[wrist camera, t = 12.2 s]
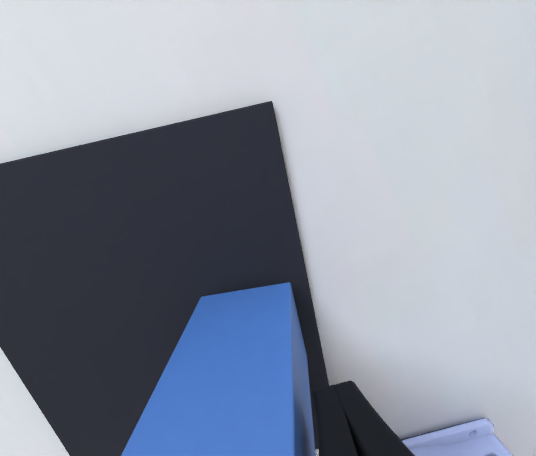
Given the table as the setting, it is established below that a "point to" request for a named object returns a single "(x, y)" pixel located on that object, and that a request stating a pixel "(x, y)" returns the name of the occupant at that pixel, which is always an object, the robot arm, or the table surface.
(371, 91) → the table surface
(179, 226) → the desk mat
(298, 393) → the blue block
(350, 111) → the table surface
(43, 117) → the table surface
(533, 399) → the table surface
